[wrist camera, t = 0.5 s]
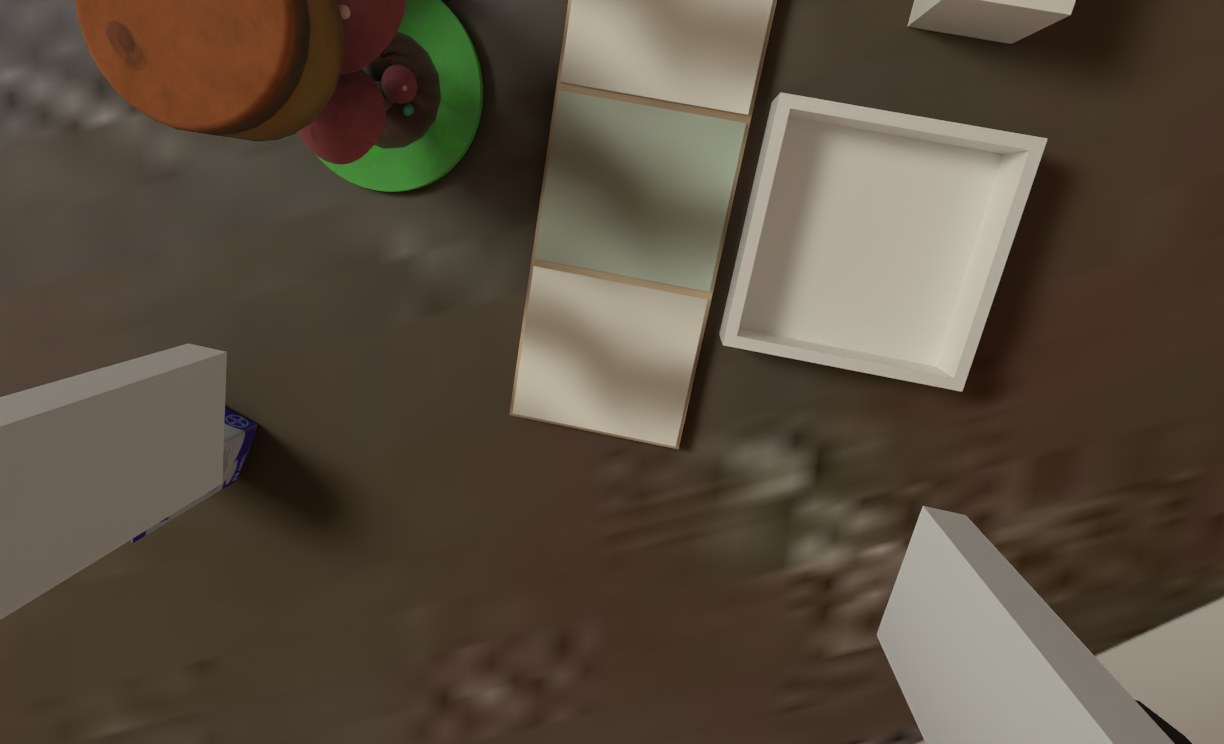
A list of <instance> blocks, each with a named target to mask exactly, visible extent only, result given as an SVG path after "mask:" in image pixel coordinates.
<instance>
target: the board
mask: <svg viewBox="0 0 1224 744" xmlns="http://www.w3.org/2000/svg"><path fill="white" fill-rule="evenodd" d="M776 3H777V0H568V7H567V14H566V21H565V29H564V36H563V43H562V50H561V57H560V64H559V71H558V78H557V85H556V92H555V99H554V106H553V113H552V120H551V127H550V134H549V141H548V148H547V155H546V162H545V169H544V176H543V183H542V190H541V197H540V204H539V211H538V218H537V225H536V232H535V240H534V247H533V254H532V261H531V268H530V275H529V282H528V289H527V296H526V303H525V310H524V317H523V324H522V331H521V338H520V345H519V352H518V359H517V366H516V373H515V380H514V387H513V394H512V401H511V408H510V415H513V416H518V417H522V418H527V419H532V420H537V421H542V422H547V423H552V424H557V425H562V426H567V427H571V428H576V429H581V430H586V431H591V432H596V433H601V434H606V435H611V436H616V437H621V438H625V439H630V440H635V441H640V442H645V443H650V444H655V445H660V446H665V447H670V448H675V449H679V445H680V440H681V435H682V431H683V426H684V422H685V417H686V413H687V408H688V404H689V399H690V394H691V390H692V385H693V381H694V376H695V372H696V367H697V363H698V358H699V353H700V349H701V344H702V340H703V335H704V331H705V326H706V322H707V317H708V312H709V308H710V303H711V299H712V294H713V290H714V285H715V281H716V276H717V271H718V267H719V262H720V258H721V253H722V249H723V244H724V240H725V235H726V230H727V226H728V221H729V217H730V212H731V208H732V203H733V199H734V194H735V189H736V185H737V180H738V176H739V171H740V167H741V162H742V158H743V153H744V148H745V144H746V139H747V135H748V130H749V126H750V121H751V117H752V112H753V107H754V103H755V98H756V94H757V89H758V85H759V80H760V76H761V71H762V66H763V62H764V57H765V53H766V48H767V44H768V39H769V34H770V30H771V25H772V21H773V16H774V12H775V7H776Z"/></svg>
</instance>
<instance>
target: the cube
mask: <svg viewBox="0 0 1224 744" xmlns="http://www.w3.org/2000/svg"><path fill="white" fill-rule="evenodd" d="M1075 1H1076V0H914V4H913V8H912V11H911V15H910V19H909V22H908V26H907V27H912V28H918V29H924V30H930V31H936V32H942V33H948V34H955V35H961V36H967V37H973V38H979V39H985V40H991V41H997V42H1003V43H1009V44H1012V43H1014V42H1016V41H1018V40H1020V39H1022V38H1025V37H1027V36H1029V35H1031V34H1033V33H1035V32H1037V31H1039V30H1041V29H1043V28H1045V27H1047V26H1049V25H1051V24H1053V23H1055V22H1057V21H1059V20H1061V19H1064V18H1066V17H1068V16H1070V15H1071V13H1072V10H1073V7H1074V4H1075Z"/></svg>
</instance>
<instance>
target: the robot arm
mask: <svg viewBox="0 0 1224 744" xmlns="http://www.w3.org/2000/svg"><path fill="white" fill-rule="evenodd" d="M226 359H227V352H224V351H220V350H215V349H211V348H206V347H202V346H197V345H193V344H185V345H181V346H178V347H174V348H171V349H167V350H164V351H160V352H157V353H153V354H150V355H146V356H143V357H139V358H136V359H133V360H129V361H126V362H122V363H119V364H115V365H112V366H108V367H105V368H101V369H98V370H94V371H91V372H87V373H84V374H80V375H77V376H73V377H70V378H66V379H63V380H59V381H56V382H52V383H49V384H45V385H42V386H38V387H35V388H31V389H28V390H24V391H21V392H17V393H14V394H10V395H7V396H3V397H0V620H1V619H2V618H4V617H6V616H7V615H9V614H10V613H12V612H14V611H15V610H17V609H19V608H20V607H22V606H23V605H25V604H27V603H28V602H30V601H32V600H33V599H35V598H37V597H38V596H40V595H41V594H43V593H45V592H46V591H48V590H50V589H51V588H53V587H54V586H56V585H58V584H59V583H61V582H63V581H64V580H66V579H67V578H69V577H71V576H72V575H74V574H76V573H77V572H79V571H81V570H82V569H84V568H85V567H87V566H89V565H90V564H92V563H94V562H95V561H97V560H98V559H100V558H102V557H103V556H105V555H107V554H108V553H110V552H112V551H113V550H115V549H116V548H118V547H120V546H121V545H123V544H125V543H126V542H128V541H129V540H131V539H133V538H134V537H136V536H138V535H139V534H141V533H142V532H144V531H146V530H147V529H149V528H151V527H152V526H154V525H156V524H157V523H159V522H160V521H162V520H164V519H165V518H167V517H169V516H170V515H172V514H173V513H175V512H177V511H178V510H180V509H182V508H183V507H185V506H186V505H188V504H190V503H191V502H193V501H195V500H196V499H198V498H200V497H201V496H203V495H204V494H206V493H208V492H209V491H211V490H213V489H214V488H216V487H217V486H219V485H221V484H222V482H223V451H224V420H225V390H226ZM877 637H878V639H879V641H880V643H881V646H882V648H883V650H884V652H885V654H886V657H887V659H888V661H889V663H890V665H891V668H892V670H893V672H894V674H895V676H896V679H897V681H898V683H899V685H900V687H901V690H902V692H903V694H904V696H905V698H906V701H907V703H908V705H909V707H910V709H911V712H912V714H913V716H914V718H915V720H916V723H917V725H918V727H919V729H920V731H921V734H922V736H923V738H924V740H925V742H926V744H1192V743H1191V742H1190V741H1189V740H1188V739H1187V738H1186V737H1185V736H1184V735H1183V734H1181V733H1180V732H1178V731H1177V730H1176V729H1175V728H1173V727H1172V726H1171V725H1169V724H1168V723H1167V722H1166V721H1164V720H1163V719H1162V718H1160V717H1159V716H1158V715H1157V714H1155V713H1154V712H1153V711H1151V710H1150V709H1149V708H1147V707H1146V706H1145V705H1143V704H1142V703H1141V702H1140V701H1136V700H1134V699H1133V698H1132V697H1131V696H1130V694H1129V693H1128V692H1127V691H1126V690H1125V689H1124V688H1123V687H1122V686H1121V685H1120V684H1119V682H1117V680H1116V679H1115V678H1114V677H1113V676H1112V675H1111V674H1110V673H1109V671H1108V670H1107V669H1106V668H1105V667H1104V666H1103V665H1102V664H1101V663H1100V662H1099V660H1097V658H1096V657H1095V656H1094V655H1093V654H1092V653H1091V652H1090V651H1089V650H1088V648H1087V647H1086V646H1085V645H1084V644H1083V643H1082V642H1081V641H1080V640H1079V639H1078V637H1077V636H1076V635H1075V634H1074V633H1073V632H1072V631H1071V630H1070V629H1069V628H1068V627H1067V625H1066V624H1065V623H1064V622H1063V621H1062V620H1061V619H1060V618H1059V617H1058V616H1057V614H1056V613H1055V612H1054V611H1053V610H1052V609H1051V608H1050V607H1049V606H1048V605H1047V604H1046V602H1045V601H1044V600H1043V599H1042V598H1041V597H1040V596H1039V595H1038V594H1037V593H1036V592H1035V590H1034V589H1033V588H1032V587H1031V586H1030V585H1029V584H1028V583H1027V582H1026V581H1025V579H1024V578H1023V577H1022V576H1021V575H1020V574H1019V573H1018V572H1017V571H1016V570H1015V569H1014V567H1013V566H1012V565H1011V564H1010V563H1009V562H1008V561H1007V560H1006V559H1005V558H1004V556H1003V555H1002V554H1001V553H1000V552H999V551H998V550H997V549H996V548H995V547H994V546H993V544H992V543H991V542H990V541H989V540H988V539H987V538H986V537H985V536H984V535H983V534H982V532H981V531H980V530H979V529H978V528H977V527H976V526H975V525H974V524H973V523H972V521H971V520H970V519H969V518H968V517H967V516H966V515H962V514H957V513H953V512H948V511H944V510H939V509H935V508H930V507H926V506H923V507H922V510H921V513H920V515H919V518H918V521H917V524H916V527H915V529H914V532H913V535H912V538H911V540H910V543H909V546H908V549H907V552H906V554H905V557H904V560H903V563H902V565H901V568H900V571H899V574H898V577H897V579H896V582H895V585H894V588H893V590H892V593H891V596H890V599H889V602H888V604H887V607H886V610H885V613H884V616H883V618H882V621H881V624H880V627H879V629H878V632H877Z"/></svg>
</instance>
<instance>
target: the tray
mask: <svg viewBox="0 0 1224 744" xmlns="http://www.w3.org/2000/svg"><path fill="white" fill-rule="evenodd" d="M1046 142H1047V139H1046V138H1041V137H1035V136H1029V135H1023V134H1018V133H1012V132H1006V131H1000V130H994V129H989V128H983V127H977V126H971V125H965V124H960V123H954V122H948V121H942V120H937V119H931V118H925V117H919V116H913V115H908V114H902V113H896V112H890V111H884V110H879V109H873V108H867V107H861V106H856V105H850V104H844V103H838V102H832V101H827V100H821V99H815V98H809V97H803V96H798V95H792V94H786V93H780V94H779V95H778V96H777V97H776V98H775V99H774V100H773V101H772V103H771V107H770V112H769V116H768V121H767V125H766V129H765V134H764V138H763V143H762V147H761V151H760V156H759V160H758V165H757V169H756V174H755V178H754V182H753V187H752V191H751V196H750V200H749V205H748V209H747V213H746V218H745V222H744V227H743V231H742V236H741V240H740V244H739V249H738V253H737V258H736V262H735V267H734V271H733V275H732V280H731V284H730V289H729V293H728V297H727V302H726V306H725V311H724V315H723V320H722V324H721V328H720V333H719V335H720V338H721V341H722V344H723V345H725V346H730V347H735V348H740V349H745V350H750V351H755V352H761V353H766V354H771V355H776V356H781V357H786V358H791V359H797V360H802V361H807V362H812V363H817V364H822V365H827V366H833V367H838V368H843V369H848V370H853V371H858V372H863V373H869V374H874V375H879V376H884V377H889V378H894V379H899V380H905V381H910V382H915V383H920V384H925V385H930V386H935V387H941V388H946V389H951V390H956V391H961V392H962V391H963V388H964V385H965V382H966V379H967V376H968V373H969V370H970V367H971V364H972V361H973V359H974V356H975V353H976V350H977V347H978V344H979V341H980V338H981V335H982V332H983V329H984V326H985V323H986V320H987V317H988V314H989V311H990V308H991V305H992V302H993V299H994V296H995V293H996V290H997V287H998V284H999V281H1000V278H1001V275H1002V272H1003V270H1004V267H1005V264H1006V261H1007V258H1008V255H1009V252H1010V249H1011V246H1012V243H1013V240H1014V237H1015V234H1016V231H1017V228H1018V225H1019V222H1020V219H1021V216H1022V213H1023V210H1024V207H1025V204H1026V201H1027V198H1028V195H1029V192H1030V189H1031V186H1032V183H1033V181H1034V178H1035V175H1036V172H1037V169H1038V166H1039V163H1040V160H1041V157H1042V154H1043V151H1044V148H1045V145H1046Z"/></svg>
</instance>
